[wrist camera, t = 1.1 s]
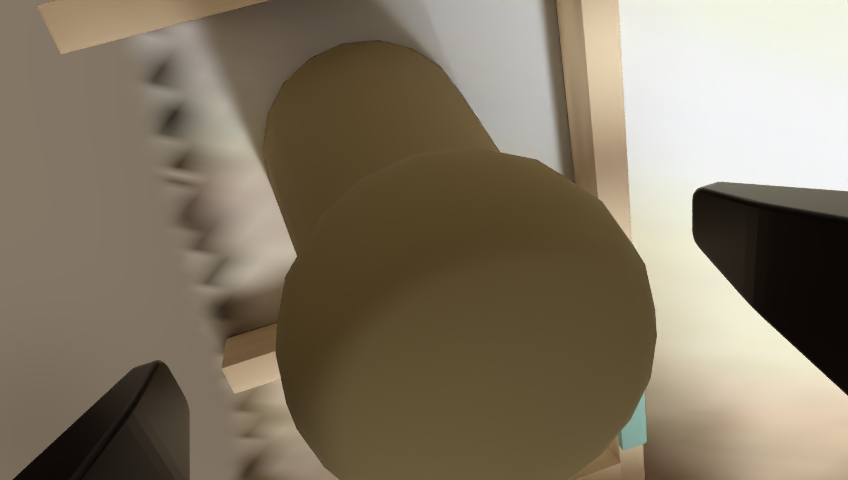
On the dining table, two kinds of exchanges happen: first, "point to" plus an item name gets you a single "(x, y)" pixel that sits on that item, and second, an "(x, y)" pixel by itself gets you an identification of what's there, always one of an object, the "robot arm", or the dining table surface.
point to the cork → (443, 284)
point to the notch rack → (589, 132)
